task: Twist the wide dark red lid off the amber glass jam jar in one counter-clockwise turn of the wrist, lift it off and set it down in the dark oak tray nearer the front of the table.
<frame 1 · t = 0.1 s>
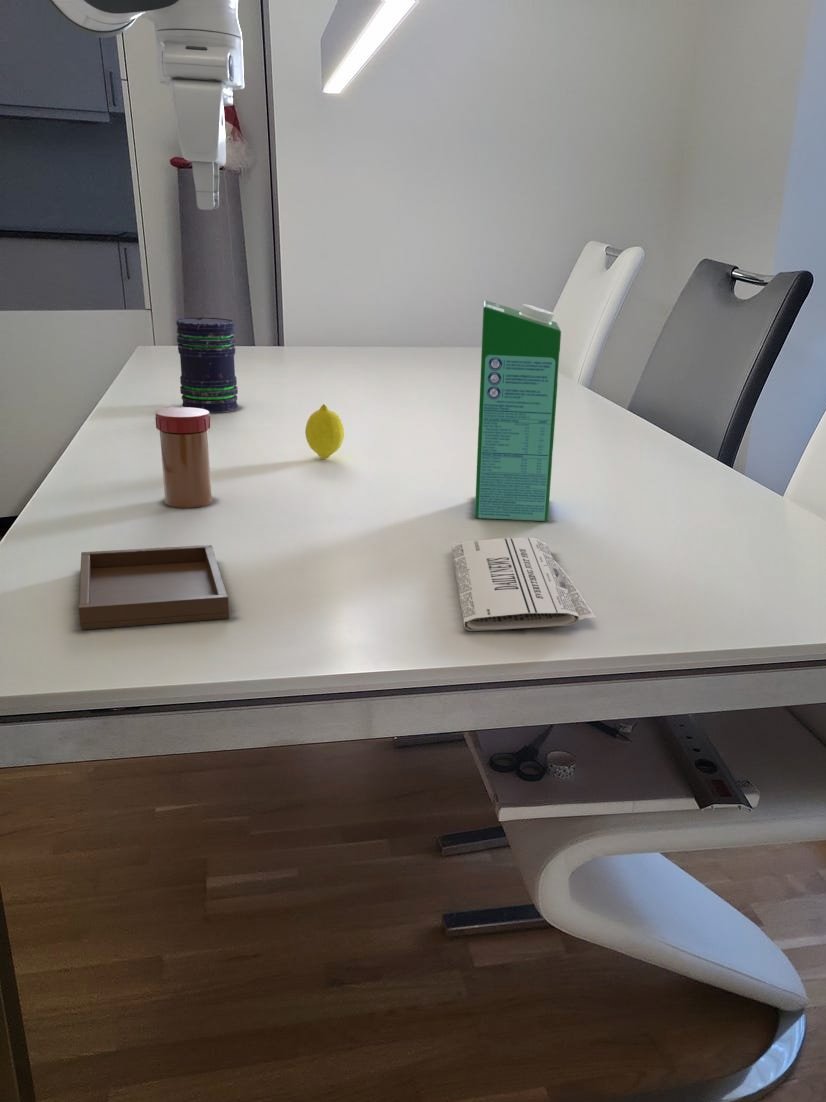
hand: (208, 209, 115), 34 cm above the table, tool pointing down, fingers open, 8 cm apart
milk carton: (510, 511, 131), on the table
dark purple barrel: (210, 408, 184), on the table
lid: (182, 415, 124), point 11 cm above the table, screwed on, not yet turned
newspaper: (516, 590, 104), on the table
fruit: (325, 460, 152), on the table
jar: (188, 501, 128), on the table
tray: (152, 594, 98), on the table
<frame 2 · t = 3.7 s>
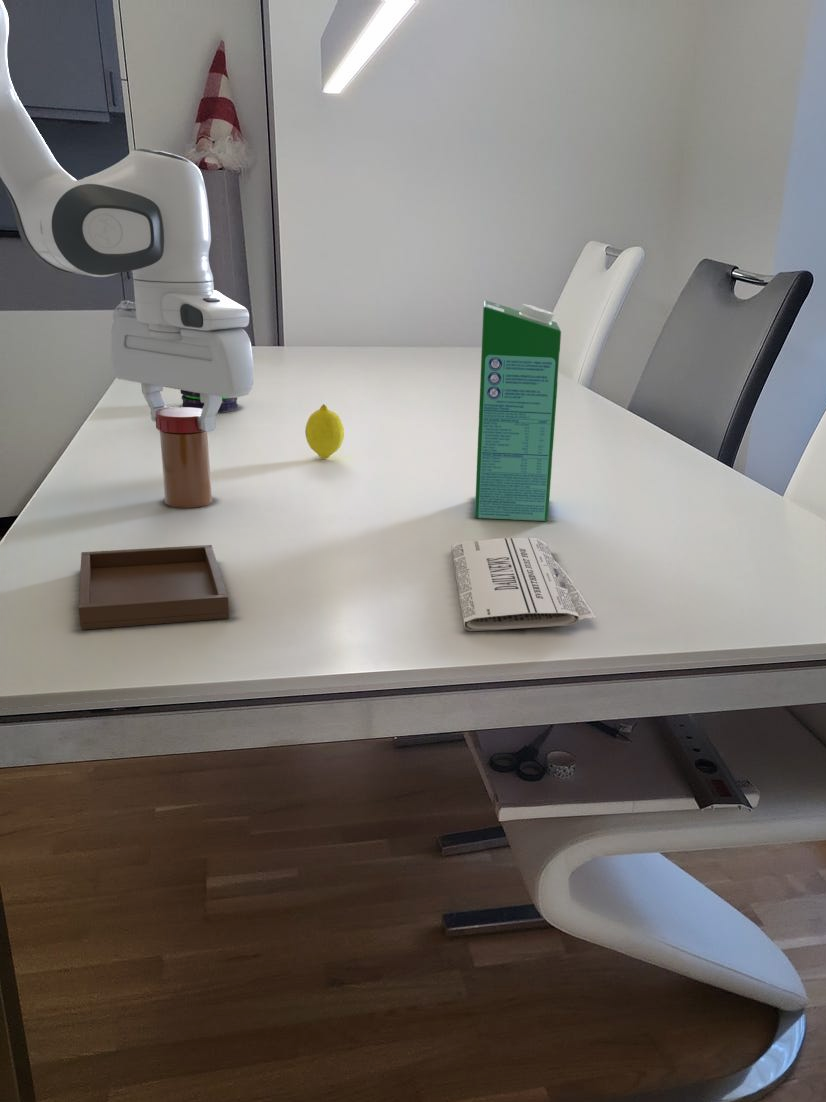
hand: (183, 426, 124), 9 cm above the table, tool pointing down, fingers closed on lid, 6 cm apart
lid: (182, 415, 124), point 11 cm above the table, screwed on, not yet turned, touching gripper
everything else where it was.
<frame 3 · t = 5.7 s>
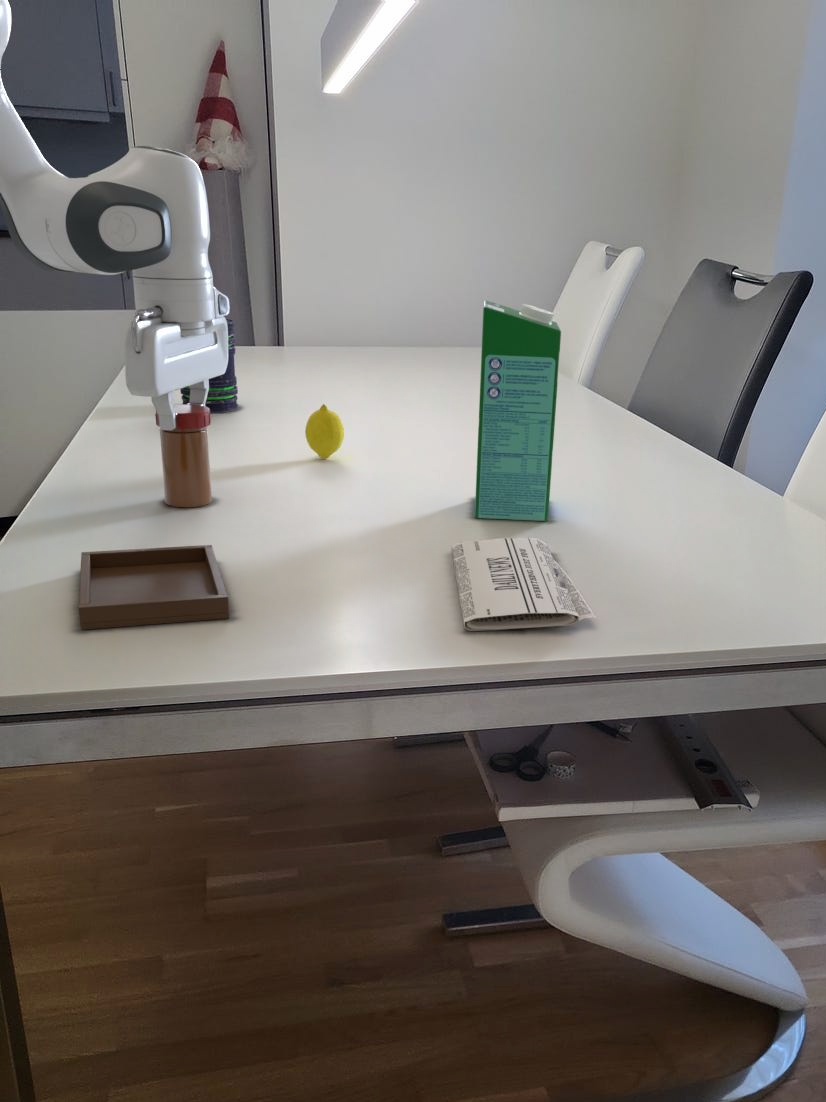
hand: (183, 423, 125), 10 cm above the table, tool pointing down, fingers closed on lid, 6 cm apart
lid: (182, 412, 124), point 11 cm above the table, off its thread, touching gripper
everything else where it was.
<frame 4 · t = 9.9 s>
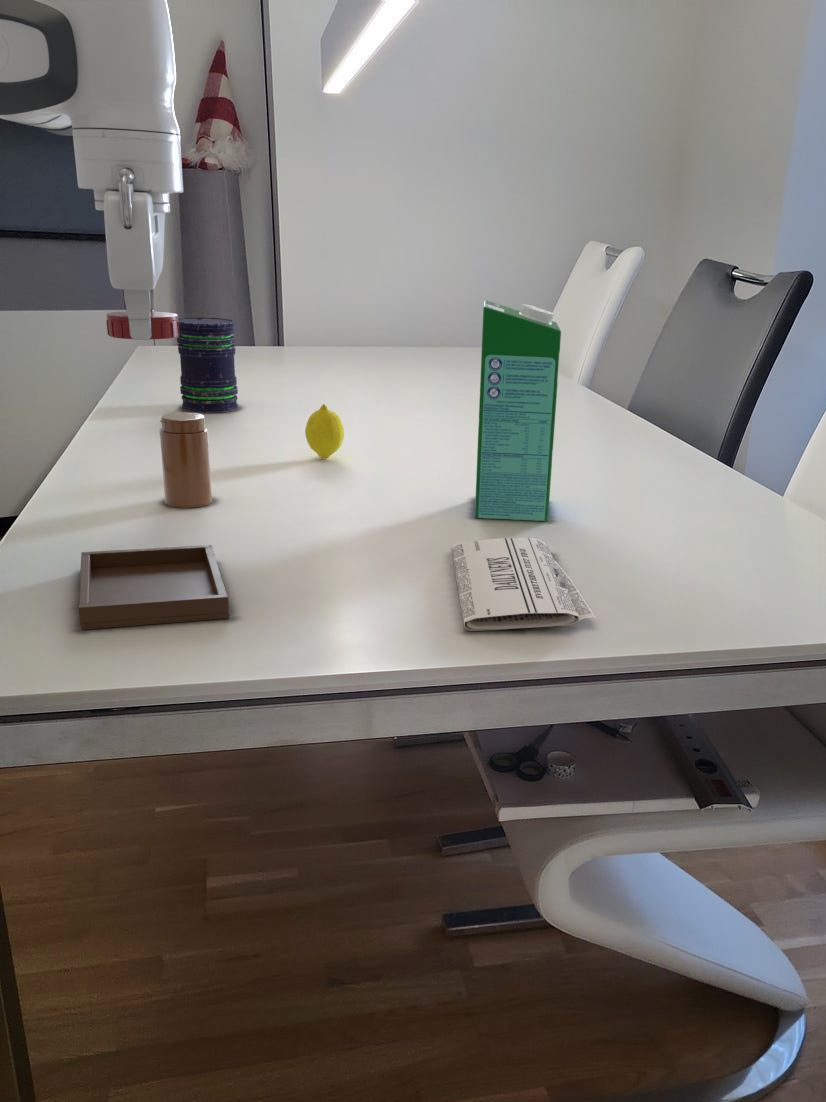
hand: (143, 333, 95), 23 cm above the table, tool pointing down, fingers closed on lid, 6 cm apart
lid: (142, 318, 95), point 25 cm above the table, off its thread, touching gripper
everything else where it was.
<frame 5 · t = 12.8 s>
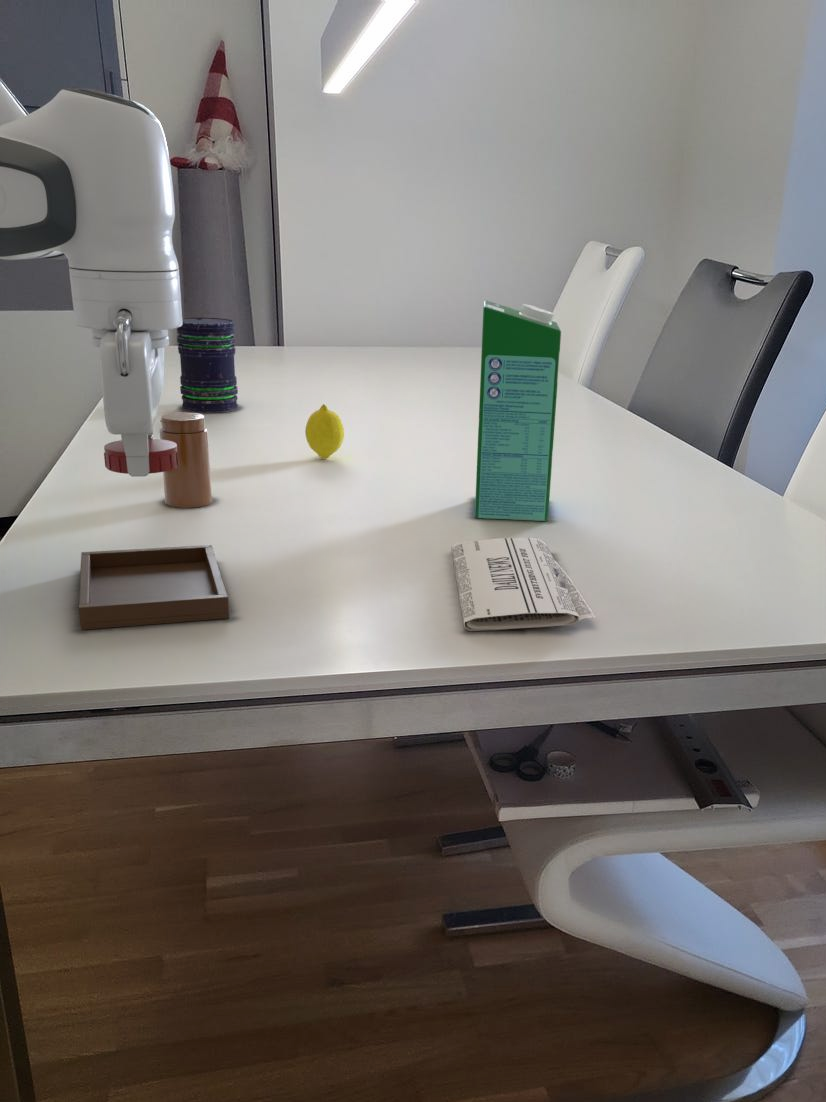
hand: (142, 464, 93), 13 cm above the table, tool pointing down, fingers closed on lid, 6 cm apart
lid: (141, 449, 93), point 14 cm above the table, off its thread, touching gripper
everything else where it was.
when the fingers open (1 cm above the table, at t = 16.1 s): lid stays where it is, resting on tray.
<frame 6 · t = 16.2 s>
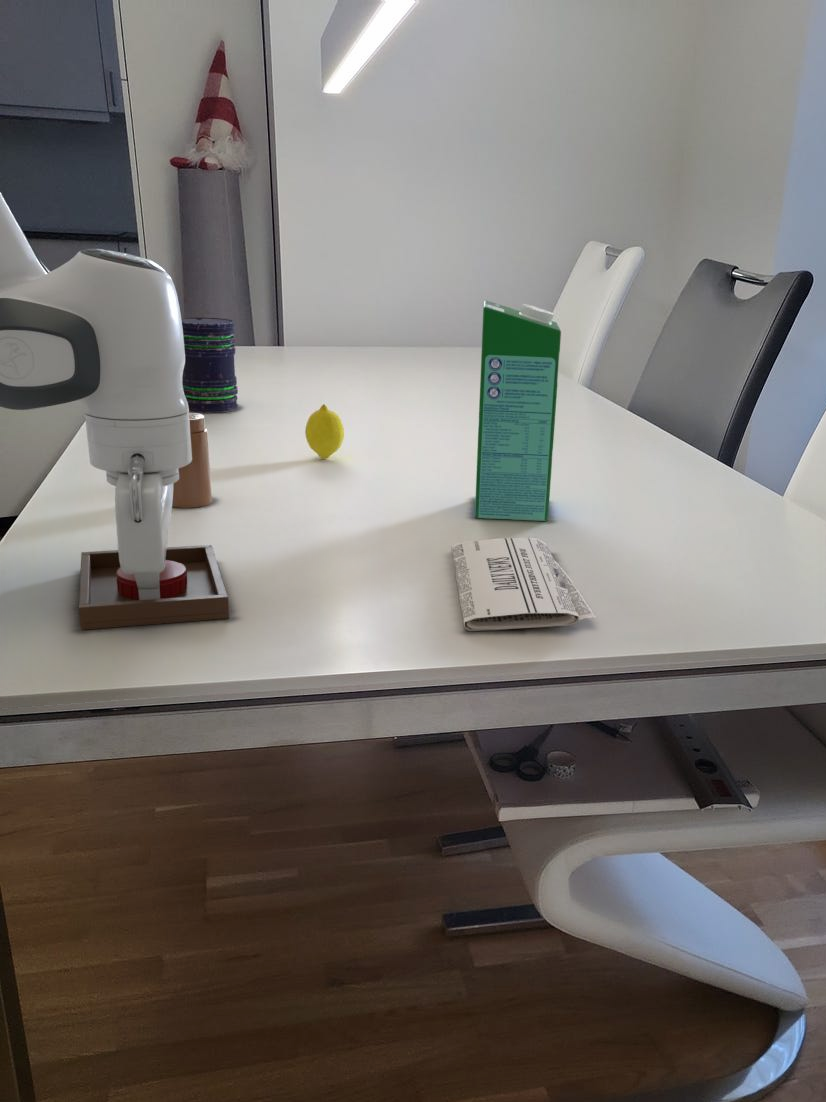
hand: (153, 588, 98), 1 cm above the table, tool pointing down, fingers open, 7 cm apart
lid: (151, 574, 97), point 2 cm above the table, off its thread, touching tray
everything else where it was.
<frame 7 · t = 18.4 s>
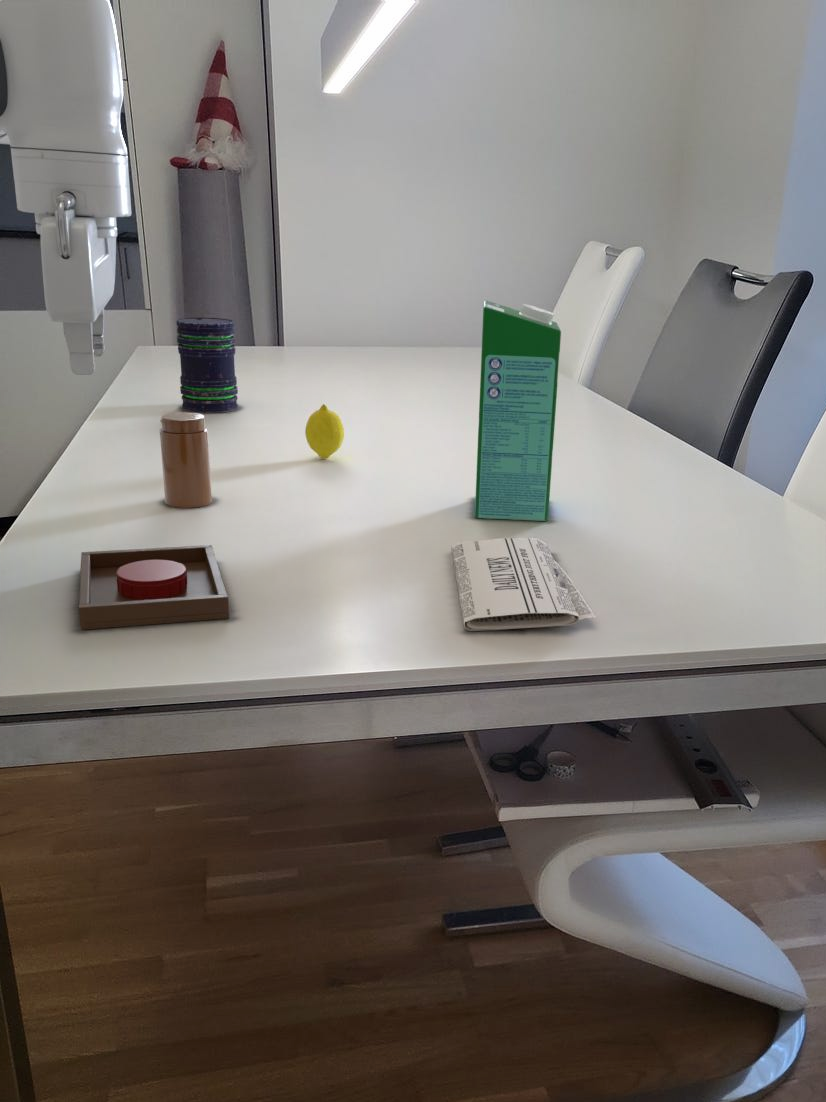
hand: (89, 363, 90), 21 cm above the table, tool pointing down, fingers open, 8 cm apart
nothing on the table moved.
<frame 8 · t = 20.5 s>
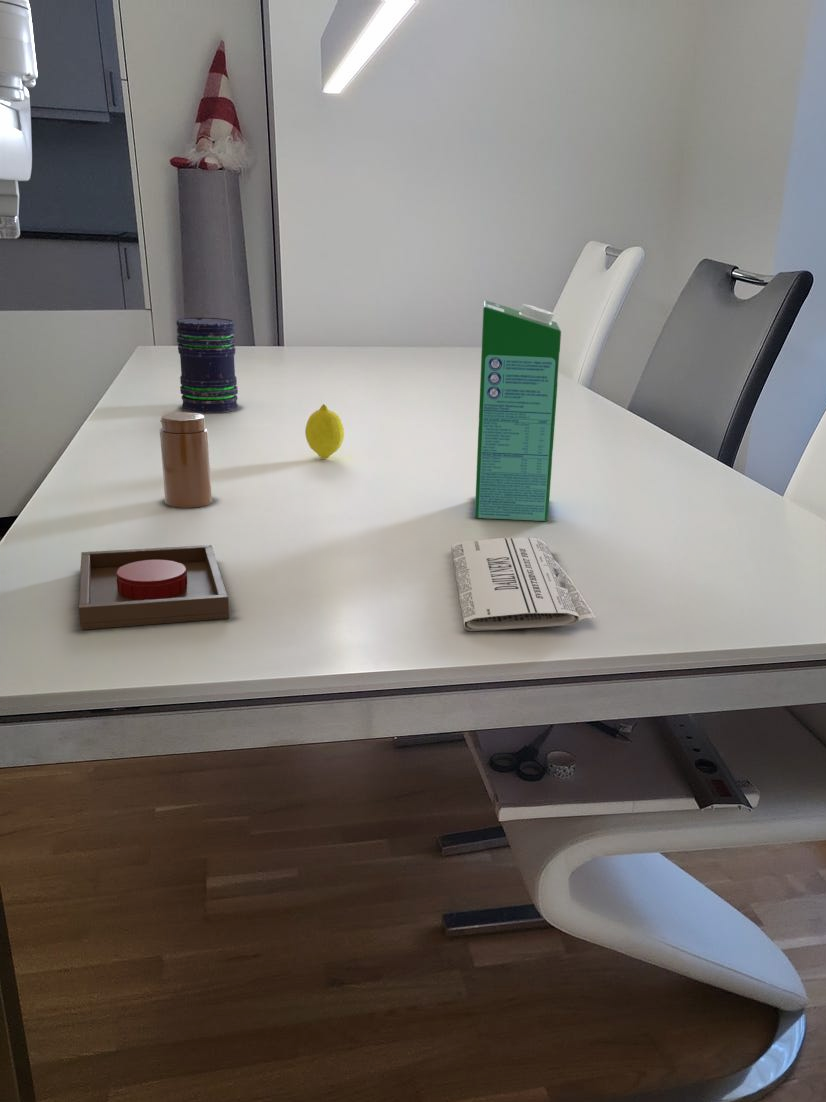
nothing on the table moved.
at the end: lid inside the target area in the tray (0.2 cm from its centre), point 2.1 cm above the tray's base; lid point 2.1 cm above the table; the gripper is holding nothing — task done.
